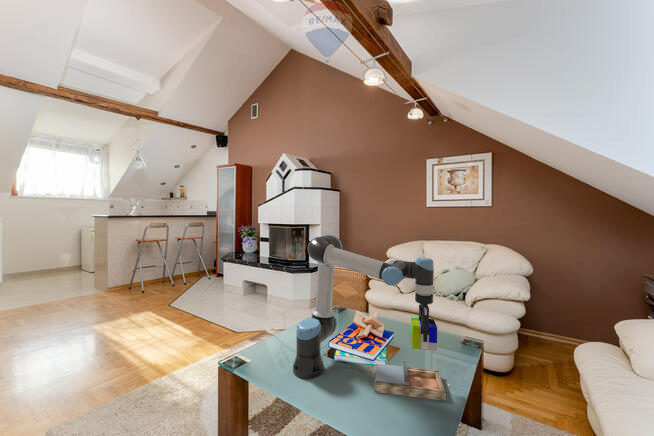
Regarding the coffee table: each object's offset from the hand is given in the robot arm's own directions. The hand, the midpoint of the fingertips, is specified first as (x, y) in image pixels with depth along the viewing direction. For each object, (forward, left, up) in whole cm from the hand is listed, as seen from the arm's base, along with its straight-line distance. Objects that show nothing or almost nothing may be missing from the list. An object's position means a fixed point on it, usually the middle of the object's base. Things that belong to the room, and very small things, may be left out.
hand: (423, 343), depth 133 cm
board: (-7, 0, -19) cm, 20 cm away
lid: (-13, 0, -16) cm, 21 cm away
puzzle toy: (0, 0, -1) cm, 1 cm away
